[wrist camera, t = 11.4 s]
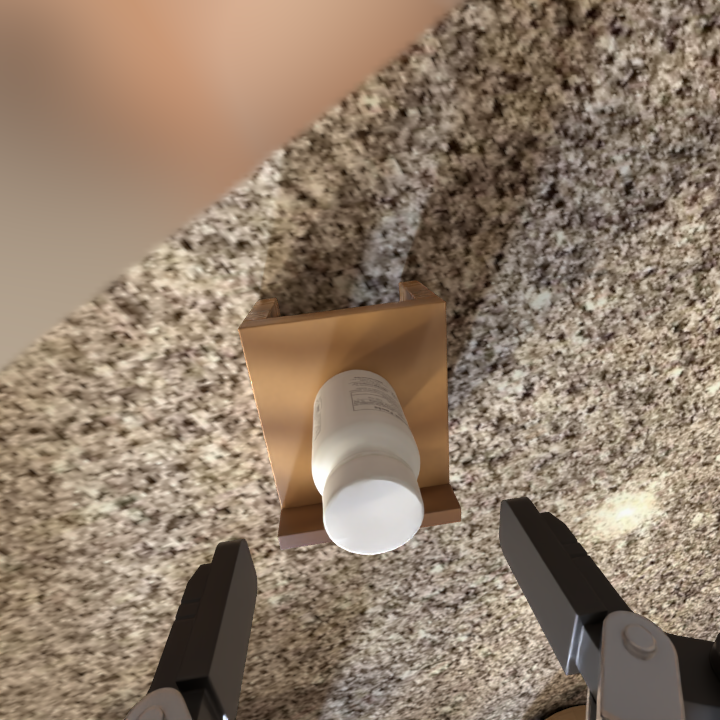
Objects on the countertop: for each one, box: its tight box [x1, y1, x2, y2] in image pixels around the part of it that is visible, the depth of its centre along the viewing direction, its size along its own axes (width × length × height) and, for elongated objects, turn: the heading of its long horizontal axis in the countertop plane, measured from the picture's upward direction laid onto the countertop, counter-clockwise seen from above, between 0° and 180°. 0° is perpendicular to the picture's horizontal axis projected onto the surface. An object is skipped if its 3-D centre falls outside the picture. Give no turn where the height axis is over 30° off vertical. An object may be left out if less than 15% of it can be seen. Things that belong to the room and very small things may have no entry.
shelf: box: [238, 280, 461, 549], centre depth 22 cm, size 12×10×8 cm
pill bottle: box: [312, 370, 424, 555], centre depth 16 cm, size 4×4×8 cm
